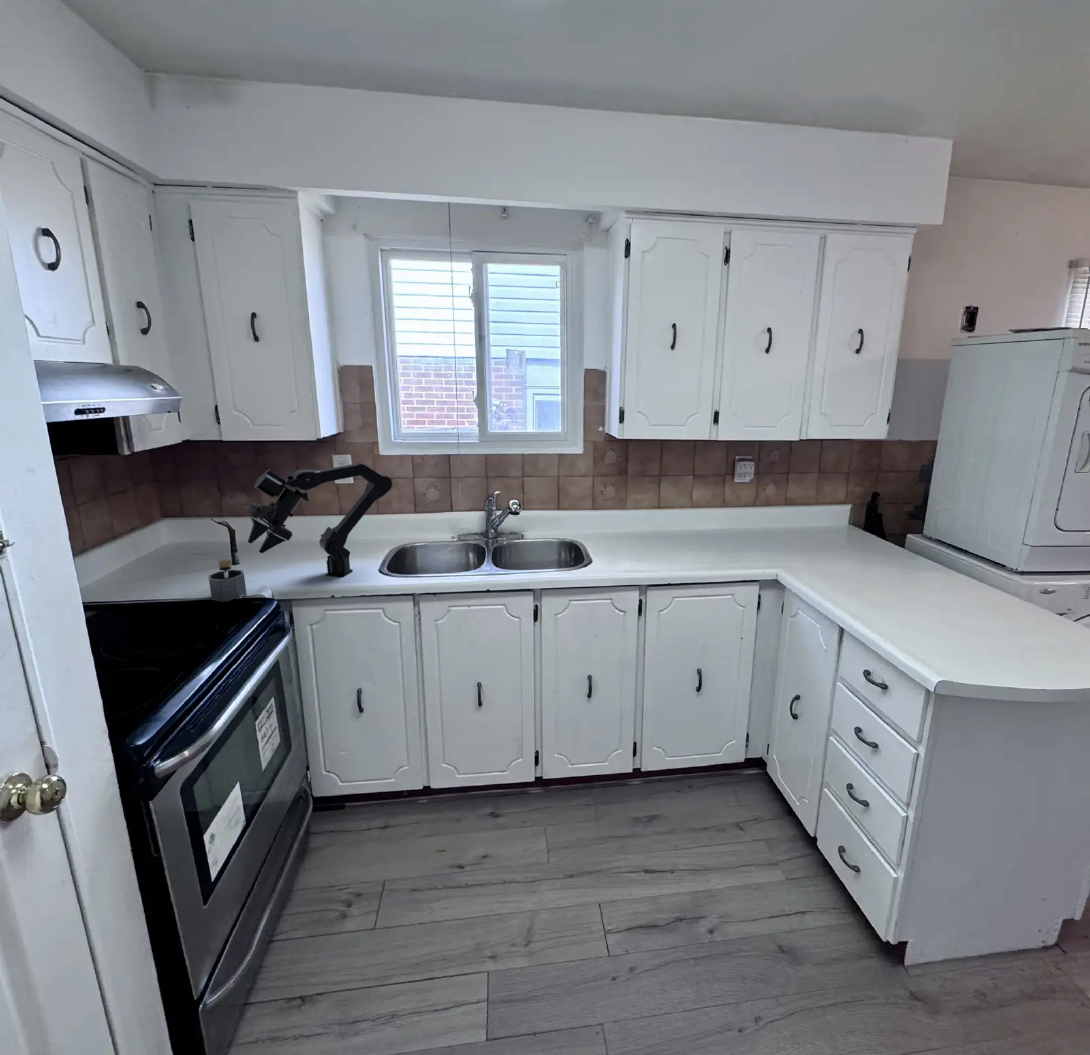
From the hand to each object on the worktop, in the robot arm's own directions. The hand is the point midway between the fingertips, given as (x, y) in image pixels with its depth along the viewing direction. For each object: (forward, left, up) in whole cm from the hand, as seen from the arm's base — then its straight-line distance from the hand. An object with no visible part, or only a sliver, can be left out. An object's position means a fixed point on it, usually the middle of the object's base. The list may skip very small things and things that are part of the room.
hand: (254, 547), depth 171 cm
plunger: (+4, +9, -12) cm, 15 cm away
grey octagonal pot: (+4, +9, -13) cm, 16 cm away
